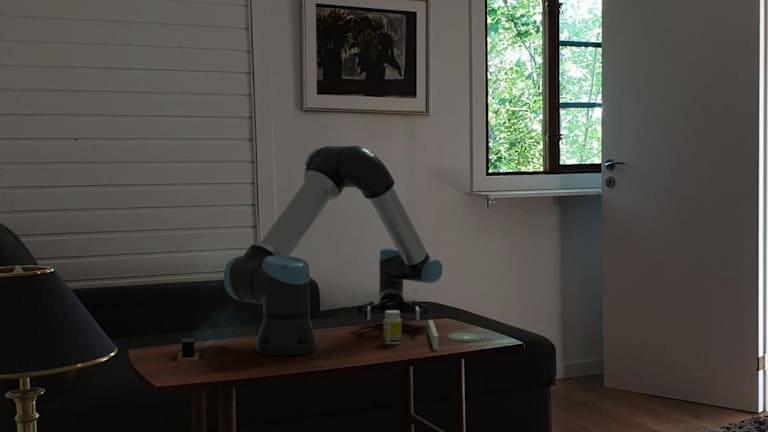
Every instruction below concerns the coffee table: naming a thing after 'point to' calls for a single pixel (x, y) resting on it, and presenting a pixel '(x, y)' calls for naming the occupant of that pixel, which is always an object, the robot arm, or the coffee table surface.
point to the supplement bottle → (392, 327)
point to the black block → (187, 348)
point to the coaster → (465, 337)
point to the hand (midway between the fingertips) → (393, 315)
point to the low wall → (433, 334)
